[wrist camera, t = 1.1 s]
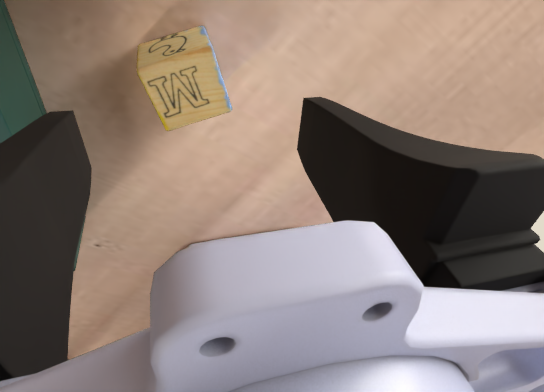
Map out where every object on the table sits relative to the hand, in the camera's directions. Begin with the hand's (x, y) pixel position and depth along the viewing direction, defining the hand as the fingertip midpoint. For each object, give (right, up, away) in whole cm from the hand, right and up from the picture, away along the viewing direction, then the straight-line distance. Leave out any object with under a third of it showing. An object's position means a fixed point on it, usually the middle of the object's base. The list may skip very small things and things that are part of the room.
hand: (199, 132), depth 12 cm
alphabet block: (-2, +4, +5) cm, 7 cm away
